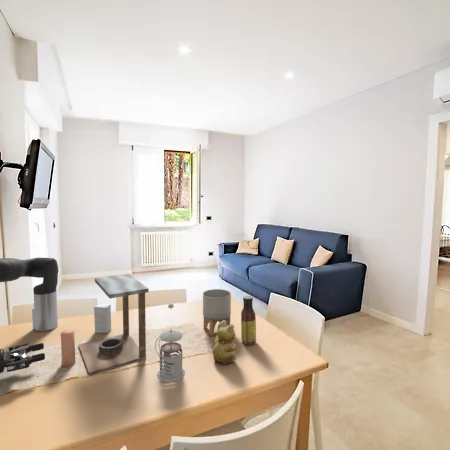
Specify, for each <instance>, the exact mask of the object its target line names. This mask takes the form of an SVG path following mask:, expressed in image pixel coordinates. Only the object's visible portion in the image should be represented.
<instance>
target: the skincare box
mask: <svg viewBox="0 0 450 450" xmlns="http://www.w3.org/2000/svg"><path fill="white" fill-rule="evenodd" d="M111 307H112V305H111V303H110V304H109V303H107V304H104V303H98V304H97V305H95V306H94V307H93V311H94V312H93V313H94V332H95V333H97V334H98V333H102V334H108V333H109V332H110V331H111V330H112V311H111Z"/></svg>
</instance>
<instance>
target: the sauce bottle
mask: <svg viewBox="0 0 450 450" xmlns="http://www.w3.org/2000/svg"><path fill="white" fill-rule="evenodd" d="M253 298H254V297H253V296H251V295H245V296H243V297H242V301H243V308H242V309H241V313H240V316H241V317H240V321H241V323H240V325H241V326H240V328H241V331H240V333H241V335H240V336H241V337H240V338H241V342H242V344H243V345H244V346H253V345H255V344H256V343H257V327H256V326H257V324H256V323H257V322H256V321H257V320H256V312H255V310H254V307H253V301H254V299H253Z"/></svg>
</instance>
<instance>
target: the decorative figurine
mask: <svg viewBox="0 0 450 450" xmlns="http://www.w3.org/2000/svg"><path fill="white" fill-rule="evenodd" d="M235 338H236V332H235V325H234V324H233V323H232V324H231V323H230V325H229V326H228V325H227V323H226V321H225V320H223V321H222V322H220V323H219V322H218V324H217V332H216V336H215V338H214V339H215V340H214V344H213V345H214V346H213V349H212V356H213V360H214V361H217V362H219V363H220V365H225V364H227V363H231V362H234V361H235V360H236V359H237V358H236V354H237V353H236V349H237V345H236V343H233V340H234V339H235Z"/></svg>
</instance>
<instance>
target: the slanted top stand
mask: <svg viewBox="0 0 450 450" xmlns="http://www.w3.org/2000/svg"><path fill="white" fill-rule="evenodd" d="M94 283H95V284H96V285H98V287H99V288H100V289H101V291H102V292H103V293H104V294H105V295H106V296H107V298H109V299H116V298H122V334H118V335H113V336H110V337H106V338H102V339H97V340H93V341H88V342H84V343H80V344H78V348H79V351H80V354H81V356H82V359H83V362H84V364H85V368H86V370H87V372H88V375H89V376H90V375H94V374H97V373H101V372H104V371H108V370H110V369H114V368H118V367H120V366H121V367H122V366H124V365H128V364H130V363H131V364H132V363H134V362H138V361H142V360H145V359H147V349H146V347H147V345H146V344H147V337H146V332H147V331H146V329H147V328H146V325H147V324H146V293H149V292H150V291H149V290H150V289H149V287H148V286H146V285H144V284H143V283H142V282H141V281H139V280H137V279H136V278H135V277H133V276H132V275H130V274H129V273H125V274H119V275H118V274H117V275H110V276H109V275H108V276H102V277H95V278H94ZM133 295H137V298H138V299H137V300H138V301H137V302H138V304H137V305H138V308H137V309H138V311H137V312H138V344H137V343H136V342H135V340H134V339H133V338H132V337H131V335H130V314H129V313H130V312H129V310H130V309H129V296H133Z"/></svg>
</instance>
